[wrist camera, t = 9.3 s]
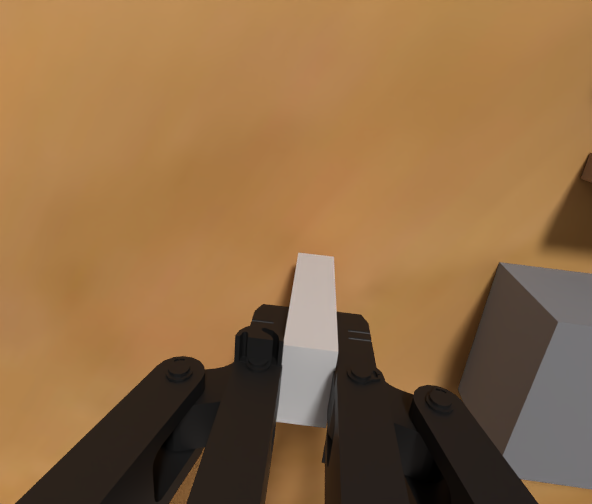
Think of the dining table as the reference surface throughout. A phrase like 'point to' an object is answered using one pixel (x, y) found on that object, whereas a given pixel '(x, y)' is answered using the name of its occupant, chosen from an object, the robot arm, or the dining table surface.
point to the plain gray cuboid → (535, 373)
